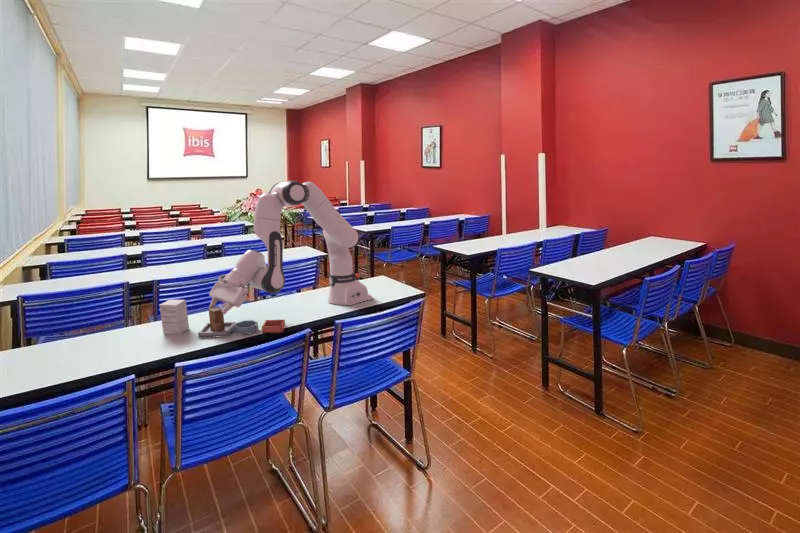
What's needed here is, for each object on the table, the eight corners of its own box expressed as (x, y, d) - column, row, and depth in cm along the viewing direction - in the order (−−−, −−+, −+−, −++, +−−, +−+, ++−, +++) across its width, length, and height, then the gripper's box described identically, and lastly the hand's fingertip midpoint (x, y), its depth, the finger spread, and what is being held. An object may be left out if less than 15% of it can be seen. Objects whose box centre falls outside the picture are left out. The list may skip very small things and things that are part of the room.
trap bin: (285, 326, 194) (284, 319, 193) (282, 333, 186) (281, 326, 186) (266, 326, 193) (265, 320, 193) (262, 333, 186) (261, 326, 185)
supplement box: (173, 327, 193) (169, 299, 190) (189, 328, 192) (186, 299, 189) (162, 334, 186) (158, 304, 183) (179, 334, 185) (176, 305, 182)
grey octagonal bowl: (249, 325, 195) (249, 319, 194) (261, 330, 189) (261, 323, 189) (231, 331, 188) (230, 324, 188) (242, 336, 183) (242, 329, 182)
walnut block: (219, 327, 190) (217, 307, 188) (224, 329, 188) (222, 309, 186) (210, 330, 187) (208, 309, 185) (215, 332, 185) (213, 311, 183)
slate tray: (236, 326, 194) (235, 322, 193) (228, 336, 183) (228, 332, 182) (207, 327, 193) (207, 322, 192) (198, 337, 182) (198, 333, 181)
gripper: (255, 291, 187) (235, 320, 182) (228, 282, 199) (209, 309, 194) (244, 282, 182) (224, 312, 177) (218, 275, 195) (198, 302, 190)
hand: (216, 310), depth 186 cm, fingers open, 8 cm apart
